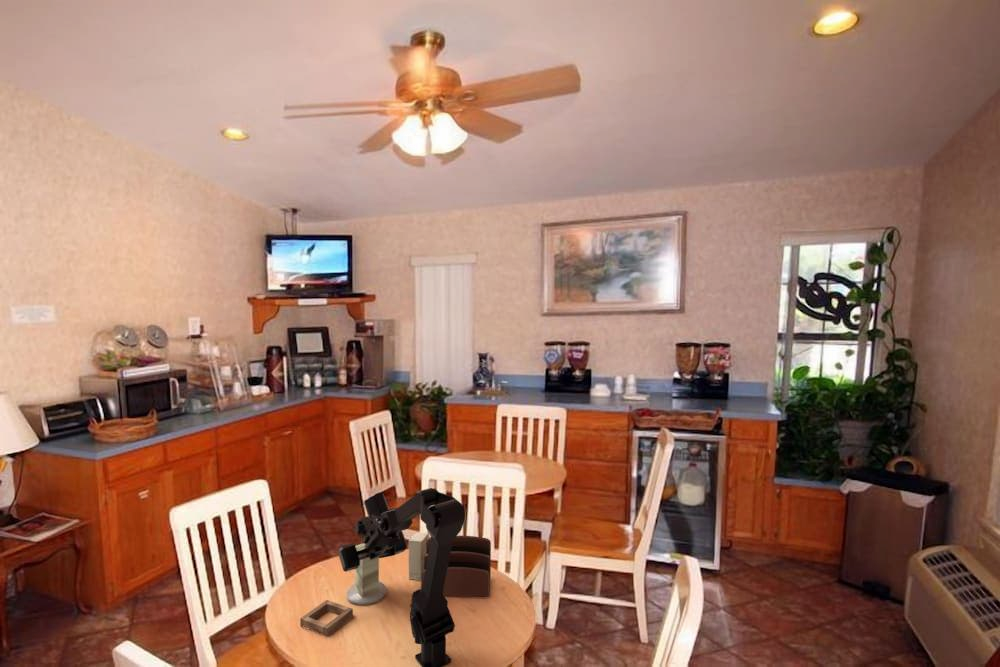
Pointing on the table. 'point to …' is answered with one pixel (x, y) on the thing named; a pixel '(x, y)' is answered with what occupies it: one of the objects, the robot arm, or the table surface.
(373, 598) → the coaster
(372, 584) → the tall khaki square post
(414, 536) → the skincare box
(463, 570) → the letter holder
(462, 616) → the table surface
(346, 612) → the pocket block
